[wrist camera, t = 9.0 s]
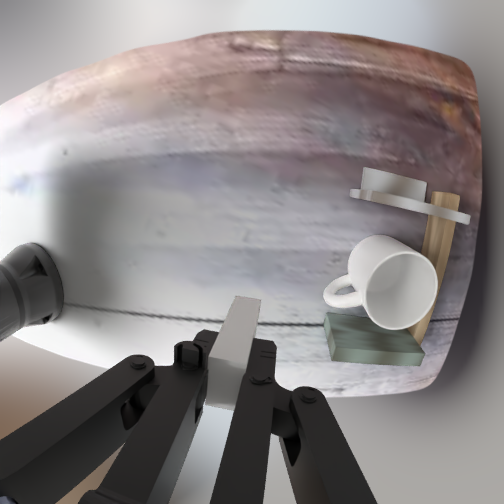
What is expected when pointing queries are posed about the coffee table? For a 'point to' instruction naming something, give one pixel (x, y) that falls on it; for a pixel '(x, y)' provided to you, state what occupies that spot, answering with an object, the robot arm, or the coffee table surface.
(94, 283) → the coffee table surface
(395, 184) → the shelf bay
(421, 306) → the mug
